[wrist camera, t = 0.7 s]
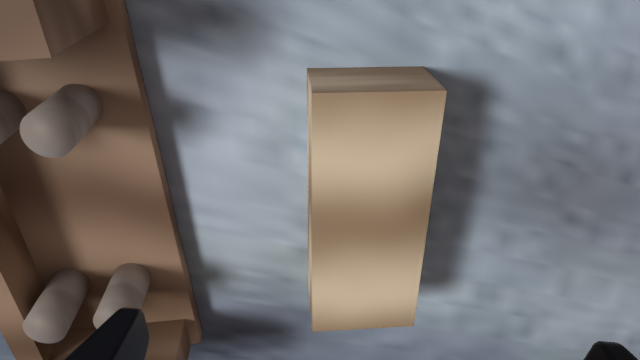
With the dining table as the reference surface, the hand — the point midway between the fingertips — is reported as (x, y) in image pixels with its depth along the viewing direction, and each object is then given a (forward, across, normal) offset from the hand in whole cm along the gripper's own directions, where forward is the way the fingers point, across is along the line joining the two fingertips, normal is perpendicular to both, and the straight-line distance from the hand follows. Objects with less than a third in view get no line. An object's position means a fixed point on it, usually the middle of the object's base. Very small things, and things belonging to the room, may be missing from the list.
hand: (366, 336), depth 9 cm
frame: (+11, +12, +6) cm, 17 cm away
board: (+13, -1, +6) cm, 14 cm away
